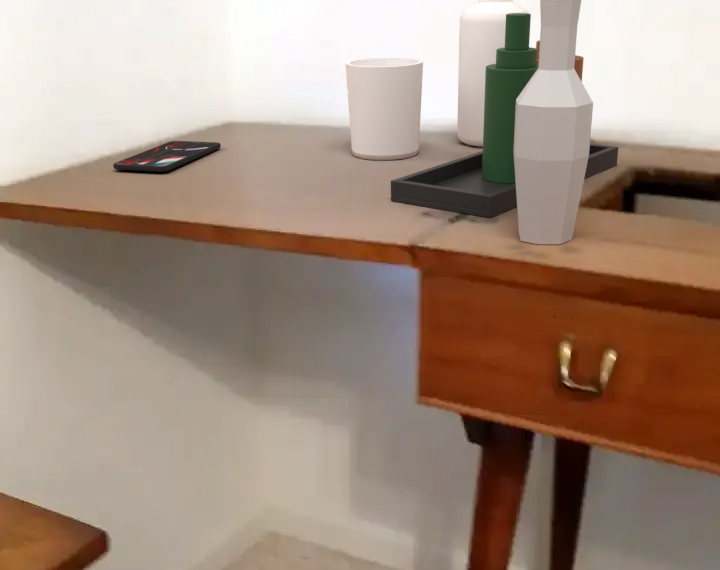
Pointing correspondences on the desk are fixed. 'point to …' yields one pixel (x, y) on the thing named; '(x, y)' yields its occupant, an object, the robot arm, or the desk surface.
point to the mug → (384, 107)
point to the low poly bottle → (552, 132)
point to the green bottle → (506, 98)
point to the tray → (475, 185)
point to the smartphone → (167, 156)
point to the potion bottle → (478, 61)
